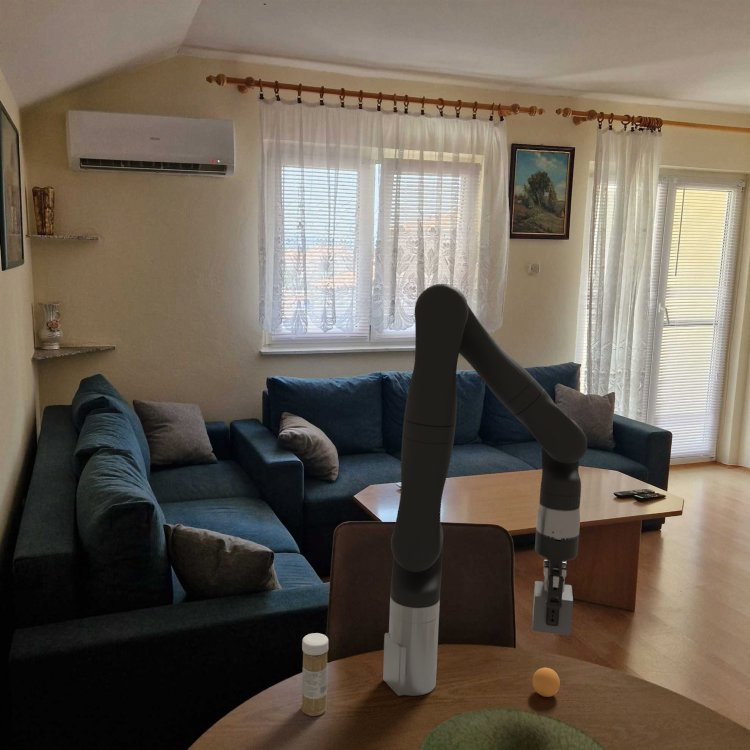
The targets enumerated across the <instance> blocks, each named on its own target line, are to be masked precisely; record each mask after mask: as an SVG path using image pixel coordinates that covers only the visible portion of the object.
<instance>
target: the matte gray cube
mask: <svg viewBox="0 0 750 750" xmlns="http://www.w3.org/2000/svg"><path fill="white" fill-rule="evenodd" d="M544 584H545V581H541V580H540V581H538V580H535V581H534V590H533V603H532V632H537V633H546V634H547V633H548V634H553V635H562V636H569V637H570V636H571V633H572V621H573V619H572V618H573V607H574V606H573V605H574V597H573V587H572V585H571V584H565V585H564V592H563V593H562V606H561V608H560V609H559V623H558V626H549V625H547V624H546V609H547V605H546V601H547V592H545V590H544ZM550 599H555V600H558V596H550Z"/></svg>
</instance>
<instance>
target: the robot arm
mask: <svg viewBox="0 0 750 750" xmlns="http://www.w3.org/2000/svg"><path fill="white" fill-rule="evenodd" d="M416 299H417V300H416V302H415V304H414V322H415V323H414V325H415V326H414V328H415V338H414V339H415V343H414V344H415V345H414V364H413V368H412V369H413V371H412V374H411V379H410V383H409V387H408V391H407V392H408V393H407V396H406V403H405V409H404V415H403V425H402V437H401V451H400V452H401V453H400V458H401V459H400V495H399V496H400V498H399V505H398V510H397V514H396V519H395V524H394V528H393V530H392V531H393V532H392V534H391V538H390V547H391V552H392V555H393V559H392V571H391V579H390V597H389V598H390V599H389V600H390V601H389V619H388V620H389V622H388V623H389V624H388V632H385V633H384V642H383V668H382V669H383V671H382V672H383V674H382V680H383V681H384V682H385V683H386V685H387V686H388V687H390V689H391V690H392V691H393V692H394V693H395V694H396V695H397V696H398V697H401V696H412V697H417V696H423V695H427V694H429V693H431V692H432V691H433V690H434V689H435V687H436V685H437V665H438V663H437V662H438V646H439V645H438V643H439V621H440V620H439V619H440V603H441V602H440V601H441V600H440V599H441V588H442V587H441V583H442V567H443V564H442V563H443V549H444V547H443V546H444V530H443V526H442V524H441V513H442V512H441V511H442V509H441V508H442V499H443V492H444V489H445V485H446V480H447V476H448V473H449V468H450V463H451V460H452V459H451V458H452V453H453V450H454V448H453V447H454V443H455V442H454V441H455V435H456V434H455V433H456V426H457V410H458V409H457V408H458V396H457V395H458V386H457V368H458V360H459V355H460V356H462V357H463V358H464V359H465V361H466V362H467V363H468V364H469V365H470V366H471V368H473V370H474V371H475V373H477V375H478V376H479V377H480V378H481V380H482V381H483V383H484V384H485V385H486V386H487V387H488V389H489V390H490V391H491V392H492V394H493V395H494V396H495V398H497V399H498V400H499V402H500V403H501V404H502V405H503V406H504V407H505V408H506V409H507V410H508V411H509V412H510V413H511V414H512V415H513V416H514V417H515V418H516V420H518V421H519V422H520V423H521V424H522V425H524V427H526V428H527V430H528V431H529V432H530V434H531V435H532V436H533V437H534V438H535V440H536V441H537V443H539V445H540V446H541V448H540V450H541V471H542V472H541V481H540V491H539V502H538V510H537V514H536V525H535V526H536V527H535V529H536V530H535V541H534V542H535V544H534V551H535V553H536V554H537V555H538V556H540V557H541V558H544V559H543V579H544V582H545V584H544V590H545V592H547V601H546V605H547V609H546V624H547V625H549V626H558V623H559V609H560V608H561V606H562V593H563V592H564V585H566V577H567V561H573V560H574V559H575V558H577V556H578V553H579V552H578V551H579V541H580V530H581V529H580V526H581V525H580V524H581V515H580V514H581V512H580V511H581V508H580V507H581V496H582V482H581V477H580V472H579V469H580V468H579V465H580V460H581V459H582V458H583V457H584V456H585V454H586V453H587V449H588V437H587V436H586V433H585V432H584V431H583V429H582V428H581V427H580V426H579V424H578V423H577V422H576V421H575V420H573V419H572V418H570V417H569V416H568V415H567V413H565V411H564V410H562V409H561V408H560V407H559V406H558V405H557V404H556V403H555V402H554V400H553V399H552V397H551V396H550V395H549V393H548V392H547V391H546V389H544V387H543V386H542V385H541V384H540V383H539V382H538V381H537V380H536V379H535V378H534V377H533V376H532V375H531V374H530V373H529V372H528V371H527V370H526V368H524V367H523V366H522V365H521V363H519V362H518V361H517V360H516V359H515V358H514V357H513V356H512V355H511V354H510V353H509V352H507V351H506V350H505V349H504V348H503V347H502V346H501V344H500V343H498V341H497V340H496V339H495V338H494V337H493V336H492V335H491V334H490V333H489V332H488V331H487V329H486V328H485V327H484V325H483V324H482V323H481V322H480V321H479V319H478V318H477V316H476V315H475V313H474V312H473V310H472V309H471V307H470V306H469V304H468V301H467V298H466V296H465V295H464V294H463V292H462V291H461V290H460V289H459V288H457V287H455V286H453V285H452V284H449V283H436V284H433V285H431V286H429V287H427V288H425V290H423V291H422V292H421V293H420V295H419V296H418V297H417V298H416ZM550 596H558V600H555V599H550Z"/></svg>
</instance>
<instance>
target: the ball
mask: <svg viewBox="0 0 750 750" xmlns="http://www.w3.org/2000/svg"><path fill="white" fill-rule="evenodd" d="M532 686H533V688H534V690H535V692H536V693H537V694H538V695H540V696H542V697H545V698H546V697H547V698H548V697H549V698H550V697H553V696H556V695H557V693H558V692H559V690H560V687H561V680H560V677H559V675H558V674H557V672H556V671H555V670H554V669H552V668H549V667H541V668H539V669H537V670H536V671H535V672H534V673H533V675H532Z"/></svg>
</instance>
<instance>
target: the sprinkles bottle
mask: <svg viewBox="0 0 750 750" xmlns="http://www.w3.org/2000/svg"><path fill="white" fill-rule="evenodd" d="M301 641H302V643H301V645H302V646H301V649H302V675H301V677H302V678H301V693H302V698H301V700H302V701H301V702H302V703H301V710H302V712H303V714H306V715H308V716H310V717H311V716H312V717H316V716H320V715H323V714H324V713H325V712H326V710H327V709H328V707H327V705H328V704H327V693H328V652H329V638H328V636H326V634H323V633H319V632H315V633H313V632H312V633H308V634H307V635H305V636H304V637H303V638H302V640H301Z"/></svg>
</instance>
